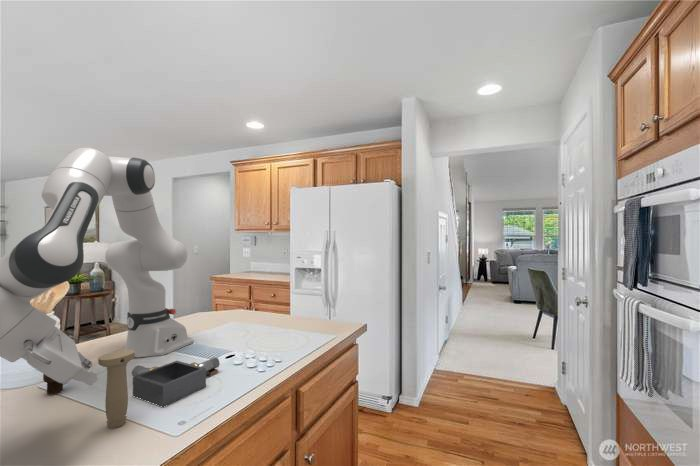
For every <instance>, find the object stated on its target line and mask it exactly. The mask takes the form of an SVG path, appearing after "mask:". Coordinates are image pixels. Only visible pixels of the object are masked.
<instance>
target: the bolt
mask: <svg viewBox="0 0 700 466" xmlns="http://www.w3.org/2000/svg"><path fill="white" fill-rule="evenodd" d="M62 332H63V333H65V334H66V335H67V336H69V337H70V334H69V332H67V331H62ZM42 375H43V376H42V377H43V378H42V379H43V382H44V383H46V394H47V395H50V396H52V395H58V394H60V393H61V392H62V391H63V390H64V384H62V383H59V382H57V381H55V380H53V379H51V378H50V377H48V376H46V375H45V374H43V373H42Z"/></svg>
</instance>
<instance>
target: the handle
mask: <svg viewBox="0 0 700 466" xmlns="http://www.w3.org/2000/svg"><path fill="white" fill-rule="evenodd" d="M134 356H135V351H134V350H124V349H122V350H118V351H113V352H109V353H106V354H103V355H101V356H99V357H97V360H98V365H99V366H101V367H104V368H106V371H107V372H106V373H107V374H106V387H105V388H106V389H105V400H104V401H105V406H104V407H105V415H106V425H107V427H108V428H110V429H114V428H120V427H122V425H124V424H125V423H126V422H127V412H128V408H129V407H128V406H129V405H128V404H129V390H128V378H127V377H128V376H127V374H128V373H127V365H128V364H129V362H130V361H132V360H133V359H134V358H135V357H134Z"/></svg>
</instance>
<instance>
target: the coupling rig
mask: <svg viewBox="0 0 700 466" xmlns="http://www.w3.org/2000/svg"><path fill="white" fill-rule="evenodd" d="M219 367H220V359H219V358H218V357H213V358H210V359H208V360H205V361H203V362H201V363H197V362H192V363H191V362H190V363H187V362H182V361H180V360H175V361H172V362H169V363H166V364H164V365H161V366H153V367H150V368H149V367H145V366H144V365H135V366H134V368H132V370H131V376H132V397H133V396H135V397H134V398H136V397H138V398H141V399H143V400H142V401H144V400H146V401H149V402H151V403H150V404H152V403H154V404H157V405H159V406H158V407H160V406H162V407H163V408H165V407H167V406H170V405H171V403H172V404H174V403H176V402H177V401H179V400H182V399H184V398H186V397H188V396H190V395H192V394H194V393H197V392H198V391H200V390H203V389H206V387H207V376H208V377H213V376H215V375H217V374H218V368H219ZM138 398H137V399H138ZM141 399H140V400H141ZM146 401H145V402H146ZM149 402H148V403H149ZM173 402H174V403H173ZM154 404H153V405H154ZM157 405H156V406H157ZM166 405H167V406H166ZM164 406H165V407H164ZM162 407H161V408H162Z"/></svg>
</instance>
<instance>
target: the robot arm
mask: <svg viewBox="0 0 700 466" xmlns="http://www.w3.org/2000/svg"><path fill="white" fill-rule="evenodd" d="M155 175H156V174H155V171H154V167H153V166H152V164H150V163H149V162H148V161H147V160H146V159H142V158H139V157H125V156H124V157H122V156H110V155H109V156H107V154H105V153H103V152H102V151H100V150H98V149H96V148H93V147H79V148H76V149H74V150H73V151H72V152H69V154H67V155H66V156H65V157H64V158H63V159H62V160H61V161H60V162H59V163H58V164H57V165H56V166H55V167H54V168H53V170H52V172H51V173H50V175H49V176H48V178H47V179H46V181H45V183H44V185H43V189H42V192H41V198H42V199H43V202H44V204H45V205H46V206H47V207H49V208H50V209H51V210H52V212H51V213H50V215H49V216H48V219H46V221H45V224H44V226H42V228H40V229H37V230H36V231H34V232H32V233H30V234H29V235H27V236H26V237H24V238H23V239H22V240H21V241H19V243H17V245H15V247H13V248H12V249H11V250H9V251H8V252H6V253H5V254H3V256H1V257H0V357H1V358H2V359H4V360H5V361H8V362H9V363H14V362H16V361H18V360H20V359H23V360H24V361H26V363H27V364H28V365H29V366H31V368H33V369H35V370H36V371H38V372H39V373H42V375H43V374H45V375H46V376H48V377H50V378H51V379H53V380H55V381H57V382H59V383H62V384H63V385H67V384H69V382H71V380H74V381H77V382H81V383H84V384H86V385H88V386H93V385H94V384H95V383H96V382H97V381H98V380H99V378H98V377H99V376H98V375H97V374H95V372H92V371H89V370H90V369H91V368H92V367H93V366H94V365H93V361H92V360H90V359H88V358H86V357H85V355H83V354H82V353H81V352H80V351H79V350H78V349H77V344H76V342H75V341H74V340H73V339H72V338H71V337H70V335H69V336H67V335H66V334H65V333H63V332H64V331H62V330H61V329H60V328H58V327H57V326H56V325H57V320H56V319H54V318H52V317H51V316H50V315H48V314H47V313H45V312H43V311H42V310H40V309H39V308H36V307H35V306H34V305H32V304H31V301H32V300H34V299H35V298H38V297H40V296H41V295H43V294H45V293H47V292H48V291H51V289H53V288H55V287H57V286H59V285H61V284H64V283H66V282H68V281H70V280H71V279H73V278H75V276H77V275H78V274H79V273H80V271H81V269H82V267H83V263H84V240H85V239H84V238H85V236H86V233H87V230H88V228H89V226H90V223H91V221H92V218H93V216H94V214H95V211H96V209H97V208H98V206H99V205H100V204H101V202H102V201H103V199H104V197H105V196H107V197H111V200H112V205H113V208H114V212H115V215H116V218H117V221H118V224H119V225H118V226H119V228H120V229H121V231H122V232H123V233H124V234H126V235H127V236H130V237H132V238H134V239H127V240H120V241H116V242H112V243H111V244H110V245H109V246H108V248H107V249H106V252H105V256H104V257H105V258H104V259H105V261H106V264H107V265H108V267H109V268H110V269H112V270H113V271H115V272H116V273H117V274H118V275H119V277H120V278H121V279H122V280H123V281H124V284H125V286H126V289H127V296H128V297H127V298H128V311H127V315H126V316H127V317H126V319H127V320H126V323H127V324H126V325H127V326H126V328H127V336H126V341H125V346H124V349H123V350H134V351H135V356H134V358H145V357H152V356H153V357H154V356H156V357H157V356H165V355H167V354H169V353H172V352H174V351H176V350H179V349H181V348H183V347H184V348H185V346H189V345H190V344H192V343H193V344H194V343H195V341H194V340H195V339H194V338H193V337H191V336H188V332H187V328H186V327H185V325H184V324H182V323H181V322H178V321H177V320H175V319H173V318H172V317H171V315H175V314H176V313H177V310H176V309H175V308H167V307H166V289H165V285H163V284H162V283H161V282H158V281H157V280H154V278H152V276H151V274H150V272H166V271H167V272H168V271H172V270H177V269H181V268H182V267H183V266H184V265H185V263H186V262H187V260H188V251H187V248H186V246H185V245H184V243H183V242H181V241H179V240H177V239H176V238H174V237H172V236H171V235H170V234H169V233H168V232H167V231H166V230H165V229H164V227H163V226H162V225H161V222H160V220H159V217H158V213H157V210H156V207H155V202H154V198H153V196H152V195H153V194H152V192H151V191H152V190H153V188H154V186H155V182H156V176H155Z"/></svg>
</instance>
